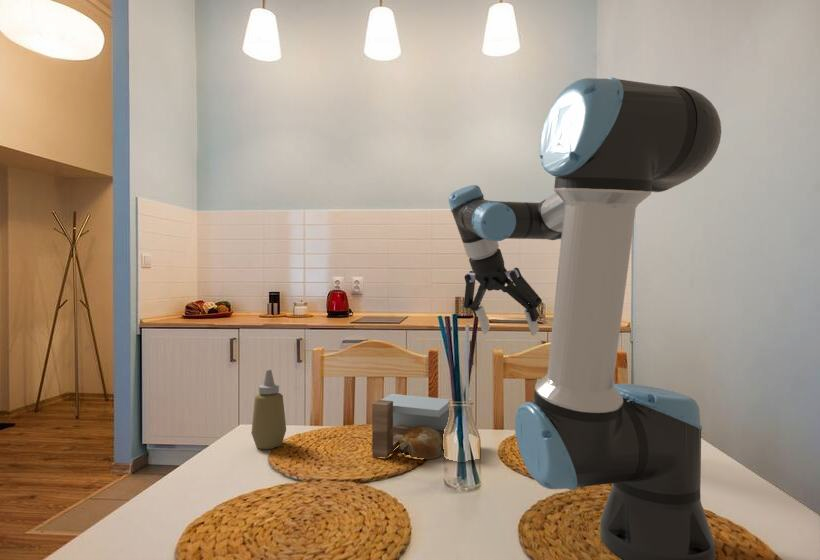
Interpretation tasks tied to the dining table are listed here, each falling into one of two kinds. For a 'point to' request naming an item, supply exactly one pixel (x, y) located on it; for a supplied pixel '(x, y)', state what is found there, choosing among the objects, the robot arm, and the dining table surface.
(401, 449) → the bread roll
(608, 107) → the robot arm
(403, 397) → the low gray box
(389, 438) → the wooden l-shaped post
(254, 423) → the squeeze bottle
